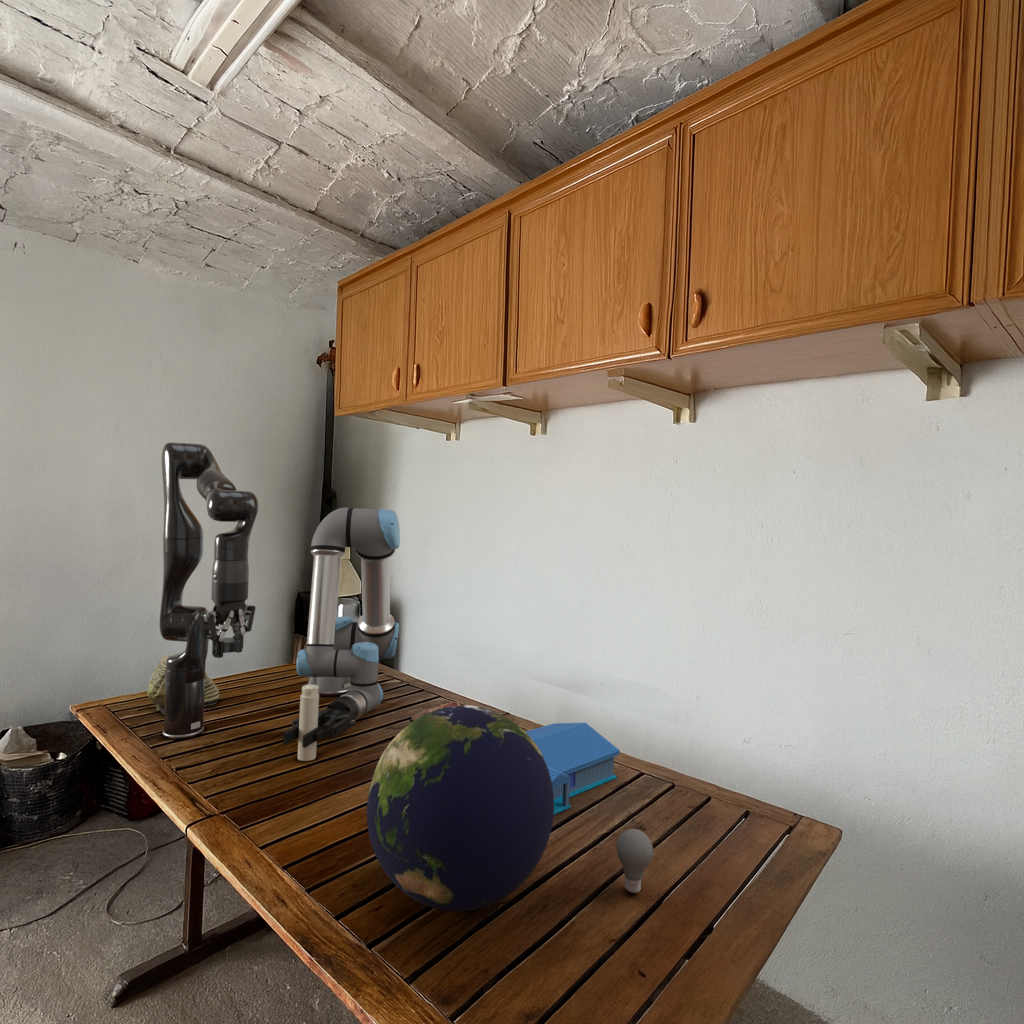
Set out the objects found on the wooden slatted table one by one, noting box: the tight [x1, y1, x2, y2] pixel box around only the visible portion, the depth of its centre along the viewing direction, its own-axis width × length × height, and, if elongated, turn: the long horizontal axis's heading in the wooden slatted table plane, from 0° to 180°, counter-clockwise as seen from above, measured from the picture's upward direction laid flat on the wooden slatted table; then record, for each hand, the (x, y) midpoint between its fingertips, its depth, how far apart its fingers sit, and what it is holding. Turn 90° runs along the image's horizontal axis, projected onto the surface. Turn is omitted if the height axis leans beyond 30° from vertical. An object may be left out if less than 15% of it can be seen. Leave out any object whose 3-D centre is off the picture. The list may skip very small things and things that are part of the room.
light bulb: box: [615, 828, 654, 894], centre depth 106 cm, size 6×6×10 cm
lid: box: [223, 637, 241, 654], centre depth 142 cm, size 5×5×2 cm
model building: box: [525, 722, 621, 816], centre depth 143 cm, size 39×24×10 cm, turn 132°
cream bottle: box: [297, 684, 320, 762], centre depth 153 cm, size 4×4×17 cm
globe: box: [366, 704, 555, 913], centre depth 102 cm, size 30×30×30 cm
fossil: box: [147, 654, 221, 712], centre depth 185 cm, size 9×18×15 cm, turn 132°
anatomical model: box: [410, 701, 461, 722], centre depth 184 cm, size 13×4×12 cm
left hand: (227, 654), depth 142 cm, fingers closed on lid, 5 cm apart
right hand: (294, 740), depth 148 cm, fingers closed on cream bottle, 4 cm apart
